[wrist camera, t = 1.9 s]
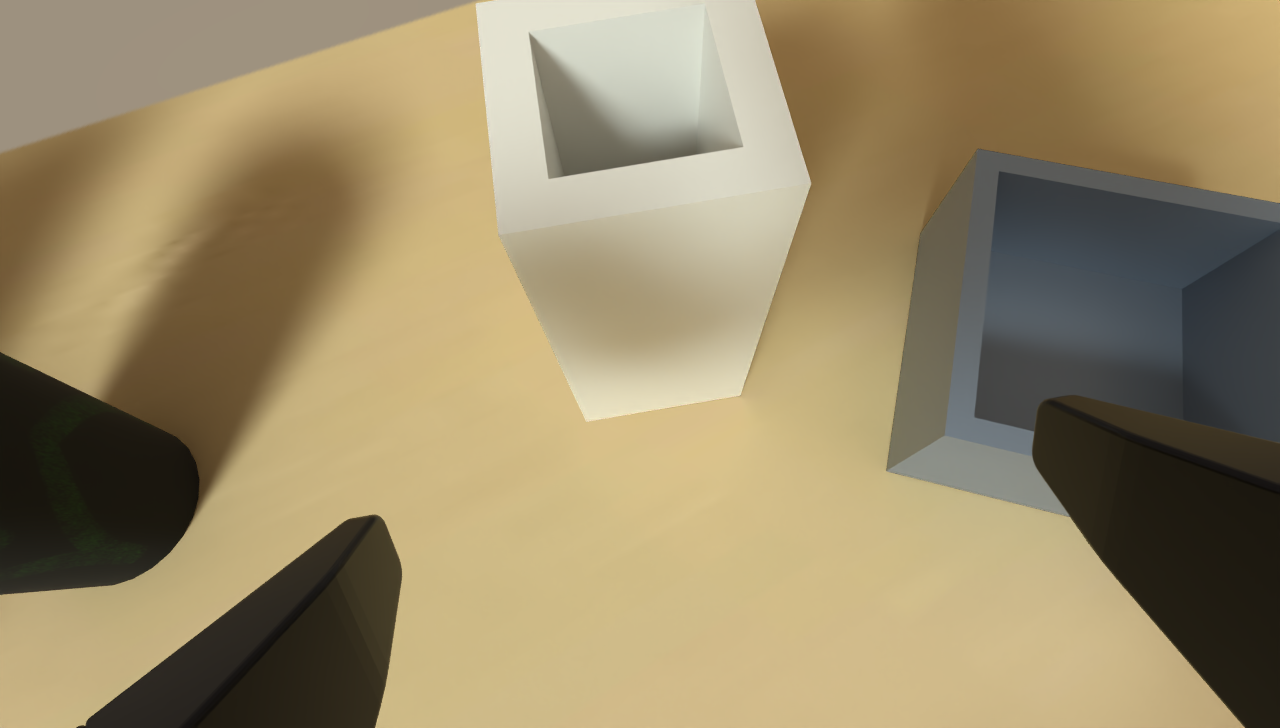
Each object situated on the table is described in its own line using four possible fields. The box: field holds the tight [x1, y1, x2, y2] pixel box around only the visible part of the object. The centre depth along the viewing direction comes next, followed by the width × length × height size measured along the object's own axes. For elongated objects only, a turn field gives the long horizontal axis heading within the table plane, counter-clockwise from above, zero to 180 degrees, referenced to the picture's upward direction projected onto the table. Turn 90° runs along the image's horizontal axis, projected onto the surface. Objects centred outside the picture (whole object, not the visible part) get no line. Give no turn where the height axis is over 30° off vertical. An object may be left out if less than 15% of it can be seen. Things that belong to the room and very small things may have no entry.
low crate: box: [886, 149, 1280, 517], centre depth 21 cm, size 10×10×5 cm
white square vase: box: [476, 0, 811, 422], centre depth 18 cm, size 6×6×12 cm
